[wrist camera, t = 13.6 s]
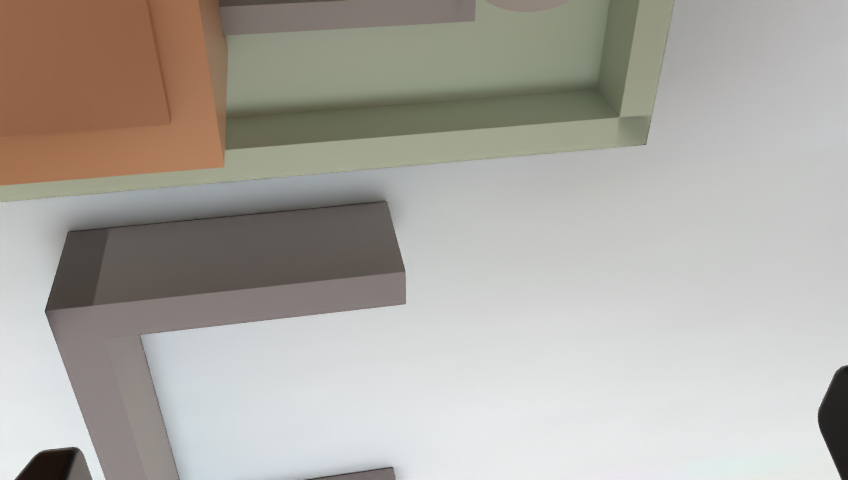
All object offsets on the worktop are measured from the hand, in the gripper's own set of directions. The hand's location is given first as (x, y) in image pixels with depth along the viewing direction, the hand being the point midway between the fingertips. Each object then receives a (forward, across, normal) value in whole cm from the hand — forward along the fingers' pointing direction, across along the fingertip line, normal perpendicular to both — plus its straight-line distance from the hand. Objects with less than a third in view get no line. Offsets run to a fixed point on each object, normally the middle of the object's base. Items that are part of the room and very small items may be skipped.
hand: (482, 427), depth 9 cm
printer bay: (+11, +4, +10) cm, 16 cm away
